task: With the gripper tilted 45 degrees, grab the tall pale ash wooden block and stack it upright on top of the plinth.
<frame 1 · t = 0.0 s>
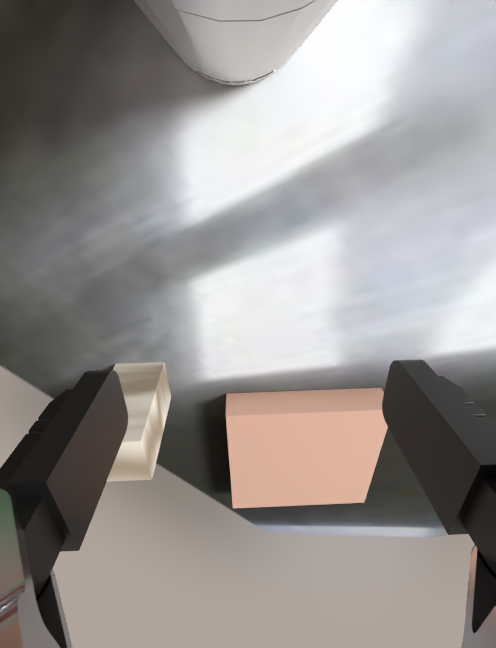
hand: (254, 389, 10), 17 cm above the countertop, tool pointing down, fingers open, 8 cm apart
ash block: (144, 381, 32), on the countertop
plinth: (298, 441, 37), on the countertop
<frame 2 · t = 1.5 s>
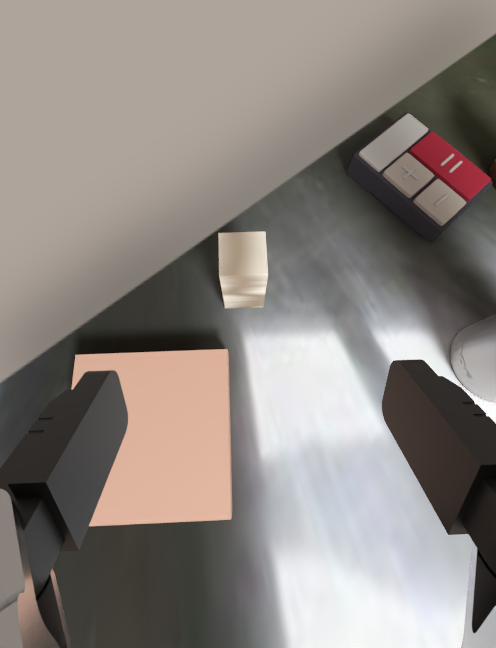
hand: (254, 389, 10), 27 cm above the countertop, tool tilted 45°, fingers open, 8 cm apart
ash block: (243, 290, 39), on the countertop
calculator: (409, 186, 45), on the countertop
plinth: (156, 430, 35), on the countertop
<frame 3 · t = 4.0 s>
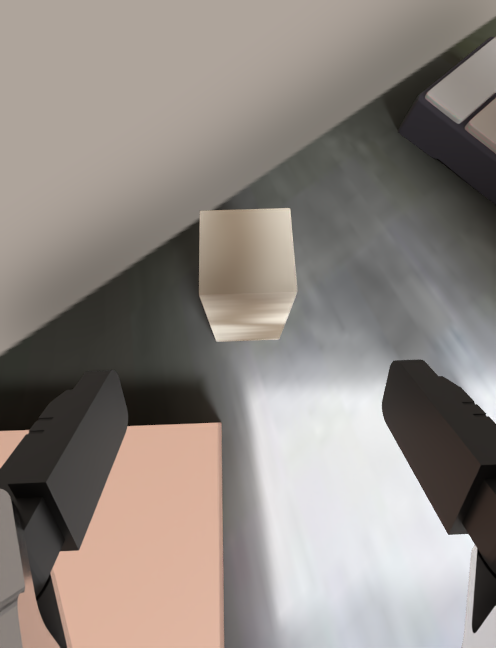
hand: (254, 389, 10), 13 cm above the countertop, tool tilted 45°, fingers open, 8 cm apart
ash block: (246, 311, 24), on the countertop
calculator: (494, 152, 30), on the countertop
plinth: (90, 566, 19), on the countertop
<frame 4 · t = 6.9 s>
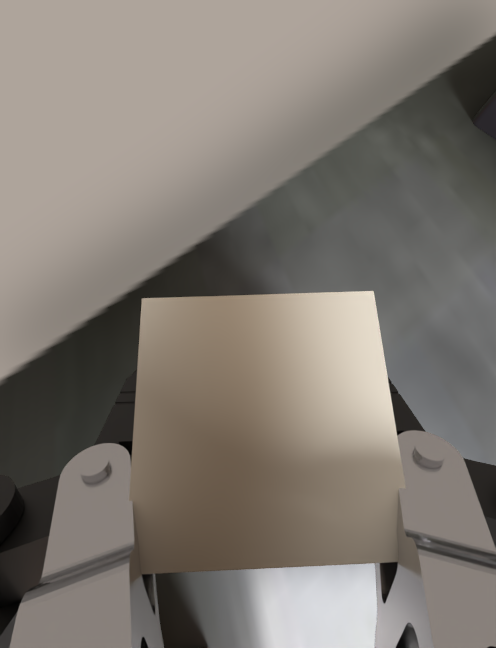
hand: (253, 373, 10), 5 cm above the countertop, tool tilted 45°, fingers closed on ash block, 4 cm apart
ash block: (252, 419, 14), on the countertop, touching gripper
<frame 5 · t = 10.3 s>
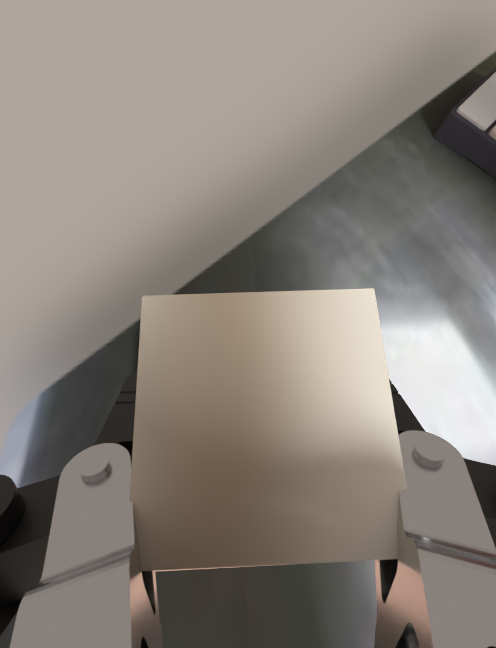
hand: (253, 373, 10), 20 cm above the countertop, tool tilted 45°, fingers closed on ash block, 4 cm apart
ash block: (253, 418, 14), point 15 cm above the countertop, touching gripper
when the fingers open (9 cm above the countertop, at t = 13.4 s): ash block drops 1 cm, resting on plinth.
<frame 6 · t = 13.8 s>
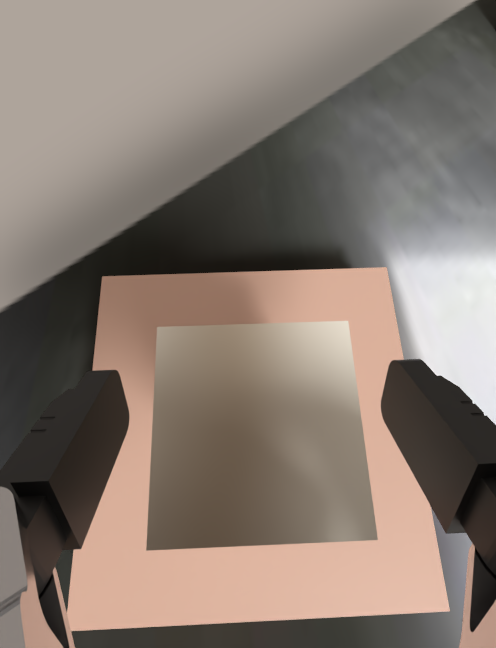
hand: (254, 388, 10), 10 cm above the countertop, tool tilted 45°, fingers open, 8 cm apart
ash block: (250, 423, 16), point 3 cm above the countertop, touching plinth
plinth: (250, 420, 19), on the countertop
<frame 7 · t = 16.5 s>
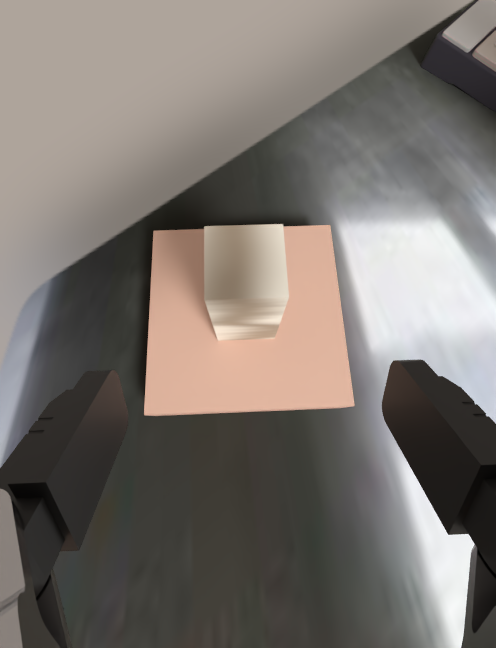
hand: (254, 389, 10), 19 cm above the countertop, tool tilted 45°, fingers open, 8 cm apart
ash block: (245, 312, 27), point 3 cm above the countertop, touching plinth
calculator: (492, 78, 40), on the countertop
plinth: (245, 321, 30), on the countertop
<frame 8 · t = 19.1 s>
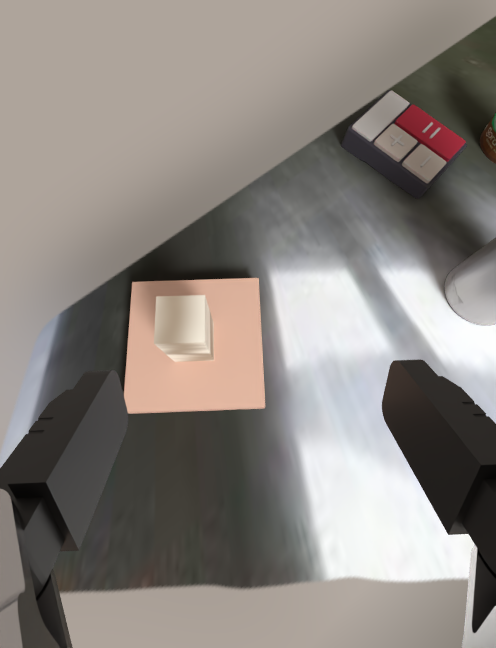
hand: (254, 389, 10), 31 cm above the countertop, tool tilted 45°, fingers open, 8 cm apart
ash block: (194, 342, 38), point 3 cm above the countertop, touching plinth
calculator: (396, 154, 52), on the countertop
plinth: (198, 346, 41), on the countertop
food container: (494, 153, 51), on the countertop
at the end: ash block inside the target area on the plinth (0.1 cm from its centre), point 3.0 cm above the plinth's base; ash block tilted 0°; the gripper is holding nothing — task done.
